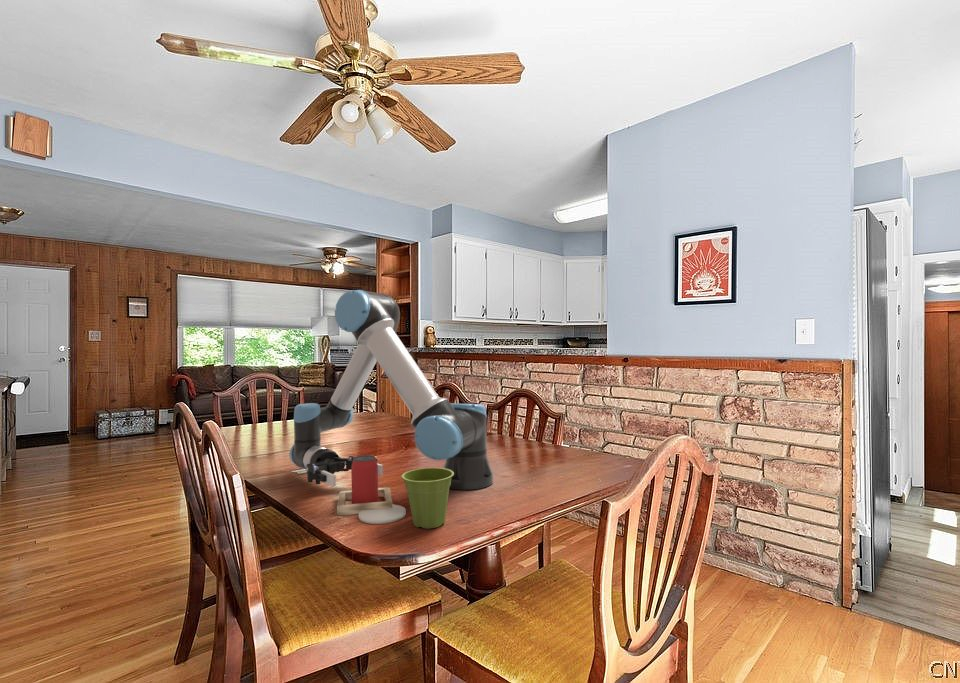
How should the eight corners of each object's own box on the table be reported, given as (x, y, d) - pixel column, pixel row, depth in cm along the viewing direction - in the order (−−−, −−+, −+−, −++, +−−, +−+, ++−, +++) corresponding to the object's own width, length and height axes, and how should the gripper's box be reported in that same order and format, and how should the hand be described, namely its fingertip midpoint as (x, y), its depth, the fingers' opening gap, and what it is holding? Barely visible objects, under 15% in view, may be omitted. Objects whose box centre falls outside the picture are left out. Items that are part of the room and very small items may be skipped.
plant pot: (434, 510, 120) (433, 464, 120) (465, 523, 111) (464, 474, 111) (392, 522, 112) (391, 473, 112) (421, 538, 103) (421, 484, 103)
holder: (389, 494, 132) (389, 487, 132) (392, 510, 120) (392, 502, 120) (339, 498, 129) (339, 491, 129) (337, 515, 117) (337, 507, 117)
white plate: (403, 505, 123) (403, 502, 123) (407, 521, 113) (407, 517, 113) (358, 509, 121) (358, 506, 121) (358, 525, 110) (358, 522, 110)
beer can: (371, 509, 121) (371, 461, 121) (347, 508, 122) (346, 460, 122) (382, 501, 127) (381, 454, 127) (358, 499, 129) (358, 454, 129)
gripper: (360, 466, 150) (399, 480, 135) (278, 483, 133) (312, 501, 117) (360, 441, 150) (399, 452, 135) (278, 455, 133) (311, 470, 117)
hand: (359, 475), depth 126 cm, fingers open, 13 cm apart
